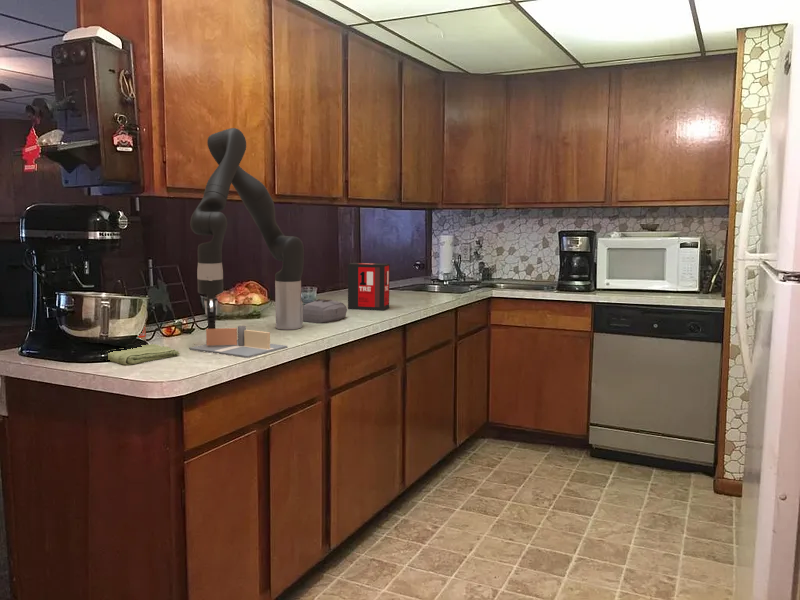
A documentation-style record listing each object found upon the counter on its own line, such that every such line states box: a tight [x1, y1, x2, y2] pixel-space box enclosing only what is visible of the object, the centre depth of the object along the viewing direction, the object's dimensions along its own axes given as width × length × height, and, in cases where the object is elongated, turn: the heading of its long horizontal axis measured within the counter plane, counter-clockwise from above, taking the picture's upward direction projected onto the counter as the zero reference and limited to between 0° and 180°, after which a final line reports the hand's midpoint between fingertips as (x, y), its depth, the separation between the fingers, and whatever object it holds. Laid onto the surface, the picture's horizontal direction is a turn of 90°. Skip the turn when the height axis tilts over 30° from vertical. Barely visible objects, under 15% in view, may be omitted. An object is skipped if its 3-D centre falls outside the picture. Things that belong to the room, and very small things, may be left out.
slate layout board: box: [188, 325, 288, 359], centre depth 200 cm, size 18×23×6 cm
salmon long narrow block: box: [205, 327, 238, 345], centre depth 201 cm, size 9×1×5 cm, turn 100°
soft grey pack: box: [303, 298, 348, 324], centre depth 259 cm, size 15×8×20 cm
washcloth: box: [108, 343, 180, 366], centre depth 185 cm, size 13×18×3 cm
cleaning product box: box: [347, 262, 391, 312], centre depth 290 cm, size 16×9×20 cm, turn 76°
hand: (211, 333), depth 202 cm, fingers closed
